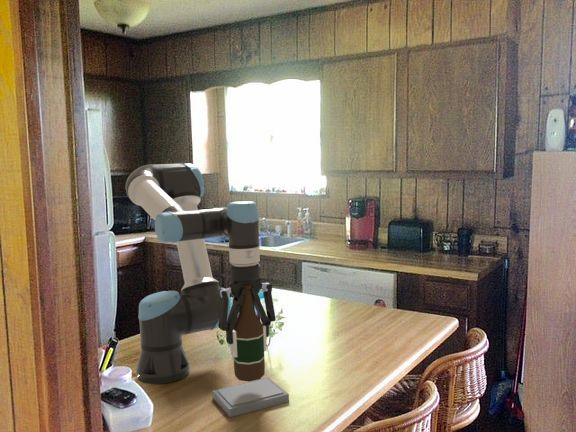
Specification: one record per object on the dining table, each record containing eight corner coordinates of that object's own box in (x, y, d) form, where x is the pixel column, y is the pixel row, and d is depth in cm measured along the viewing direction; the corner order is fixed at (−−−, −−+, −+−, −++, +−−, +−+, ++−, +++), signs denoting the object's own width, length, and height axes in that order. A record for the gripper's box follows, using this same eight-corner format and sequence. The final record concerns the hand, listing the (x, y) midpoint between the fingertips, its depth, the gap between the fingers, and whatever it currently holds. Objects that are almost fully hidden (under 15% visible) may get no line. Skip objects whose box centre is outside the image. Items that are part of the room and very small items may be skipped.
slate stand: (212, 398, 139) (212, 389, 139) (268, 384, 146) (268, 376, 146) (229, 417, 128) (229, 408, 128) (289, 401, 136) (288, 392, 135)
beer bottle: (235, 370, 140) (231, 280, 138) (265, 369, 140) (261, 279, 138) (233, 382, 132) (229, 287, 130) (264, 381, 133) (261, 286, 130)
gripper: (211, 271, 126) (216, 365, 128) (287, 261, 135) (290, 349, 137) (201, 266, 132) (205, 355, 135) (274, 256, 141) (277, 341, 144)
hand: (248, 352), depth 136 cm, fingers closed on beer bottle, 7 cm apart
